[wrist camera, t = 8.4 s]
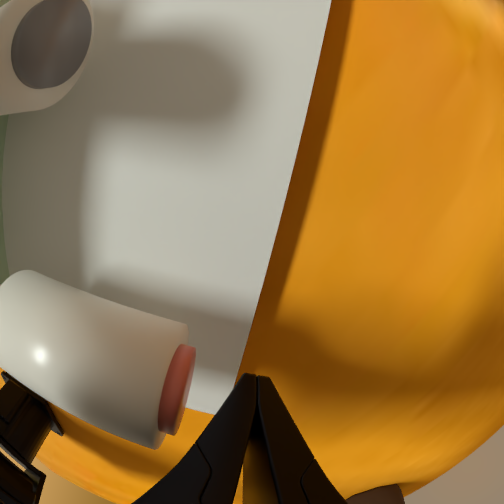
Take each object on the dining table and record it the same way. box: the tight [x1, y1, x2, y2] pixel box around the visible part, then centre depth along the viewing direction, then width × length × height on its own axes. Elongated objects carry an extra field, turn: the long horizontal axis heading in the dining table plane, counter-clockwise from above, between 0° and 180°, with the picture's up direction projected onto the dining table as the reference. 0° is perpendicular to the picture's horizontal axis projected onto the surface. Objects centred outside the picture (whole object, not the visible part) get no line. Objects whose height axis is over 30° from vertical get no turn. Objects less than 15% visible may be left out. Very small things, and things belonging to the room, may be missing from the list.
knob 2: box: [0, 270, 196, 450], centre depth 7 cm, size 12×4×4 cm, turn 77°
